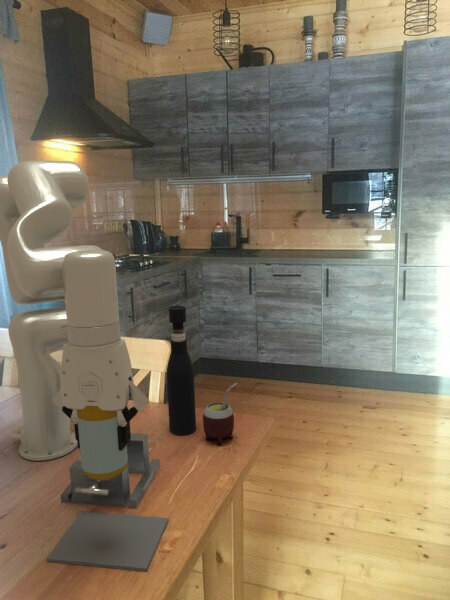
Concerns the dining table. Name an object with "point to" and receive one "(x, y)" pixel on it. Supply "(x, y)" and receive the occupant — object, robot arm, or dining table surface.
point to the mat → (110, 541)
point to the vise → (114, 479)
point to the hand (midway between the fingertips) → (103, 444)
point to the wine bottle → (180, 378)
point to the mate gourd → (219, 420)
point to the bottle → (99, 439)
